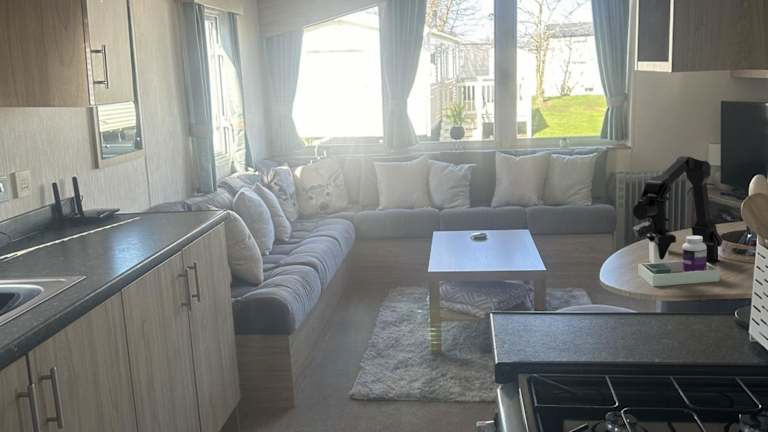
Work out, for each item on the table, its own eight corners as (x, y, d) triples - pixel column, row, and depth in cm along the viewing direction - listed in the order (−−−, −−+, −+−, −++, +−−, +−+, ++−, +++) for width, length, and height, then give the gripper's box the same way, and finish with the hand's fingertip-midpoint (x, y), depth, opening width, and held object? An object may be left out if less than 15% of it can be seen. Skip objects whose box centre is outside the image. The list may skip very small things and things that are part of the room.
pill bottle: (678, 274, 274) (677, 236, 271) (699, 272, 275) (699, 233, 272) (689, 280, 266) (688, 240, 264) (711, 278, 267) (710, 238, 264)
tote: (701, 269, 278) (701, 258, 277) (719, 281, 262) (719, 269, 262) (638, 274, 279) (638, 264, 278) (652, 286, 263) (652, 275, 262)
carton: (663, 259, 272) (662, 238, 271) (668, 262, 267) (667, 241, 266) (649, 260, 272) (648, 240, 271) (654, 263, 267) (653, 243, 266)
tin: (664, 276, 274) (664, 262, 273) (671, 281, 268) (671, 267, 267) (646, 277, 274) (645, 264, 274) (652, 282, 268) (652, 269, 267)
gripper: (627, 211, 276) (628, 253, 279) (643, 221, 258) (644, 266, 261) (657, 209, 276) (658, 250, 278) (676, 219, 257) (677, 263, 260)
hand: (659, 257), depth 269 cm, fingers closed on carton, 5 cm apart
